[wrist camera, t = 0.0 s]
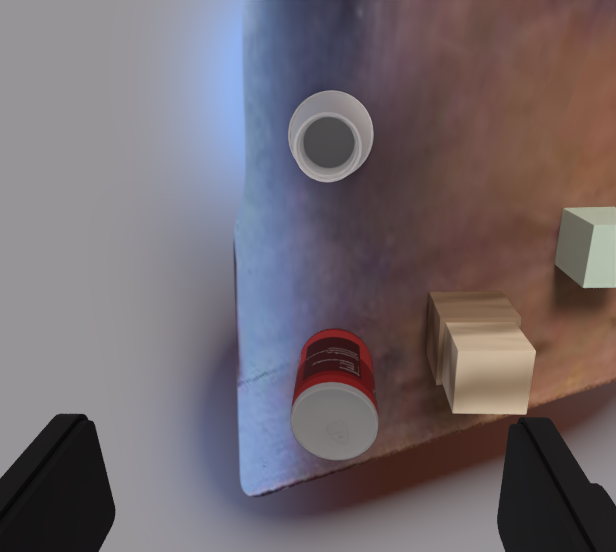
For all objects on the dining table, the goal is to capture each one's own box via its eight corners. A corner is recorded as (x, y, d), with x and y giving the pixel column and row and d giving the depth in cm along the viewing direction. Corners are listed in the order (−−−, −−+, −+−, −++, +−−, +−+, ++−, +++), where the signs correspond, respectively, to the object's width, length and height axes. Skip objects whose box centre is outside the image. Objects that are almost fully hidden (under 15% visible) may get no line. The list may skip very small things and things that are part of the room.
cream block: (429, 291, 49) (440, 318, 43) (500, 290, 48) (521, 317, 43) (425, 352, 51) (436, 384, 46) (493, 352, 51) (512, 385, 45)
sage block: (562, 207, 45) (594, 225, 39) (625, 206, 44) (665, 223, 39) (554, 263, 47) (582, 288, 41) (613, 263, 46) (650, 287, 41)
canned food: (332, 401, 54) (330, 475, 44) (284, 353, 52) (270, 418, 42) (387, 364, 52) (398, 432, 42) (339, 312, 50) (338, 370, 40)
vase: (294, 180, 45) (282, 205, 36) (284, 95, 43) (267, 98, 33) (375, 172, 45) (384, 195, 35) (369, 85, 42) (377, 85, 33)
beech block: (445, 322, 43) (458, 350, 39) (514, 322, 43) (536, 351, 38) (441, 379, 45) (452, 413, 41) (507, 380, 45) (526, 414, 40)
